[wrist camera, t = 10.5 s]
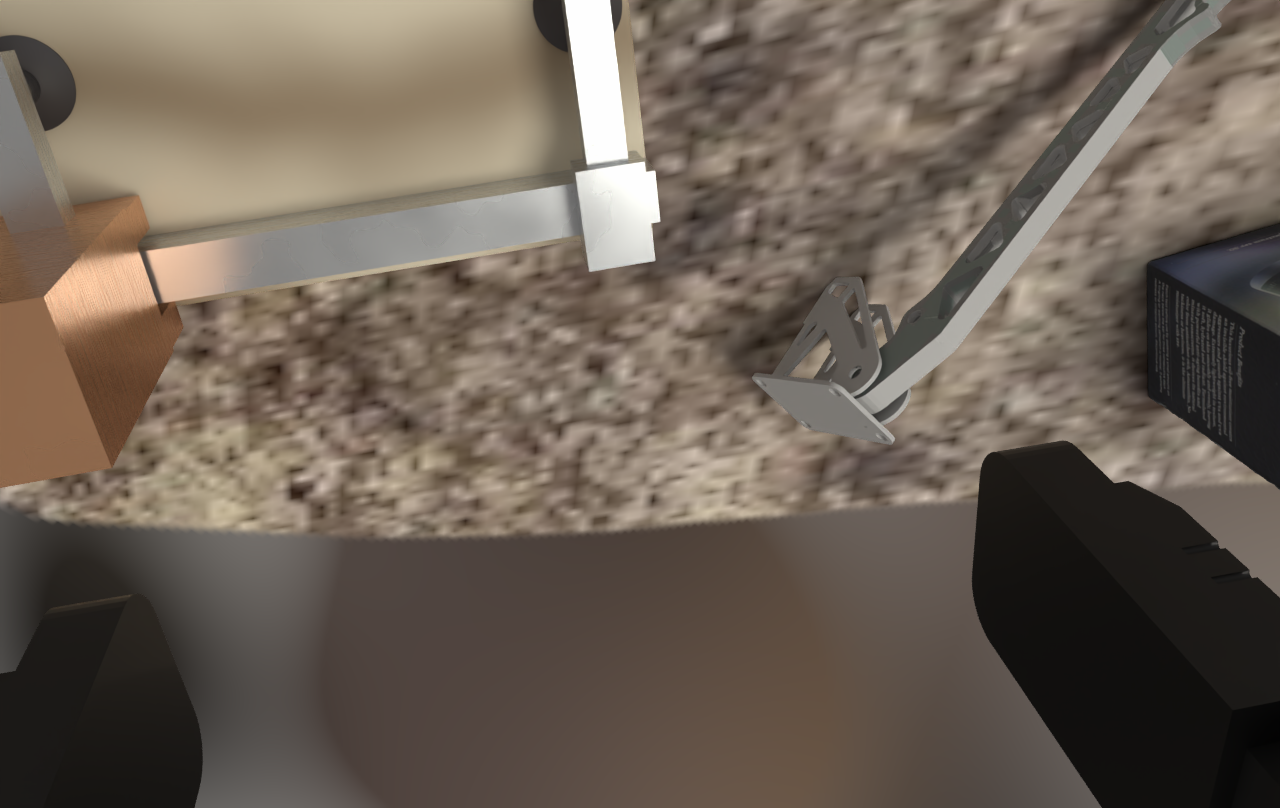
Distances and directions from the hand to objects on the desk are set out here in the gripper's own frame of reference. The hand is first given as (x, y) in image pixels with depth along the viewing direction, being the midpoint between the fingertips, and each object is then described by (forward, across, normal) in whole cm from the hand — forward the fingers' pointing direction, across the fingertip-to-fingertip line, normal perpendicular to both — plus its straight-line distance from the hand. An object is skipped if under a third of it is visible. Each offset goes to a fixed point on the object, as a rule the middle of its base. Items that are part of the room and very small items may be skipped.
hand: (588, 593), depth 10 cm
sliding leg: (+24, +13, +2) cm, 27 cm away
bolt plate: (+26, +6, 0) cm, 26 cm away
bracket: (+26, -17, +5) cm, 32 cm away
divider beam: (+24, +6, +2) cm, 25 cm away
